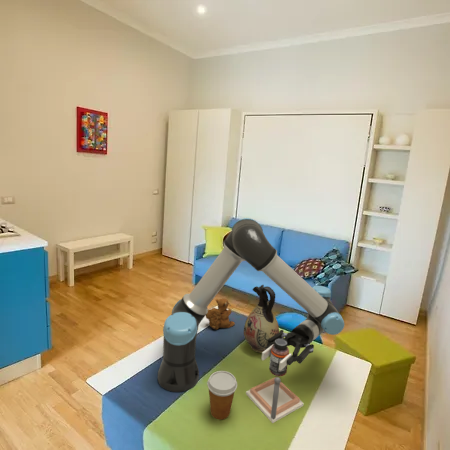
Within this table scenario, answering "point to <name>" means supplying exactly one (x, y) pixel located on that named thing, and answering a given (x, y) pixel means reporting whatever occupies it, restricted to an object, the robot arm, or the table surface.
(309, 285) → the robot arm
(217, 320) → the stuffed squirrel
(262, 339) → the ceramic jug
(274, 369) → the supplement bottle
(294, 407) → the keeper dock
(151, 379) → the table surface
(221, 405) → the disposable coffee cup
